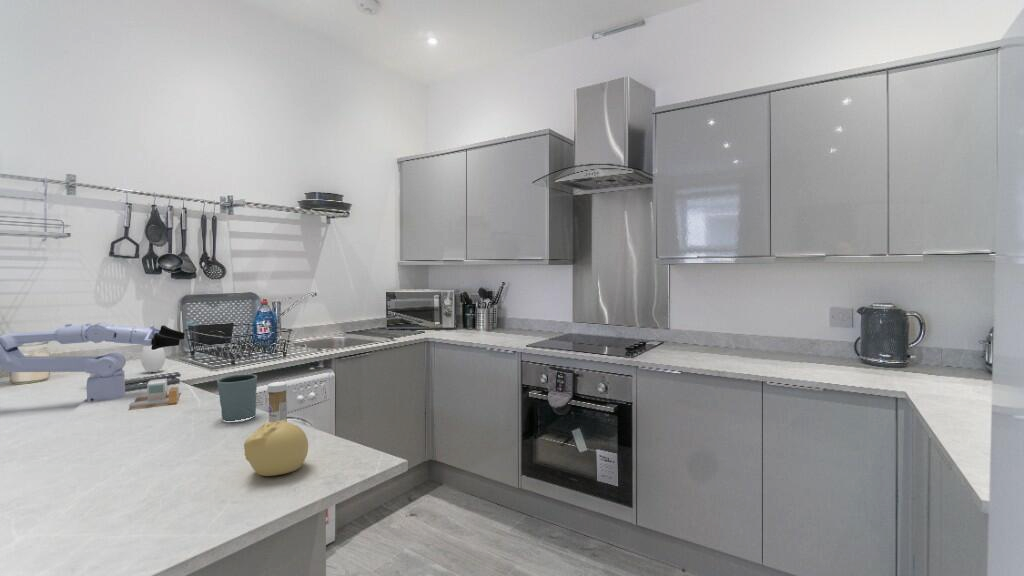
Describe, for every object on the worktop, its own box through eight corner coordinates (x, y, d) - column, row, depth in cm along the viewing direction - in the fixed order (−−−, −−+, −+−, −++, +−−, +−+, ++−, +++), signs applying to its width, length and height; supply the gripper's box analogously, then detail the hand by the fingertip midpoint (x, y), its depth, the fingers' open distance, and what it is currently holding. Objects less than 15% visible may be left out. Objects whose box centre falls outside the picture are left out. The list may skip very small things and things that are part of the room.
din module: (147, 401, 151) (147, 384, 151) (150, 396, 157) (150, 380, 157) (165, 399, 154) (164, 382, 153) (167, 394, 160) (167, 378, 160)
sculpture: (265, 459, 109) (264, 413, 109) (317, 460, 109) (316, 413, 108) (235, 482, 98) (233, 430, 97) (292, 482, 97) (291, 431, 97)
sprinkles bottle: (264, 434, 125) (263, 384, 125) (279, 429, 130) (277, 380, 129) (277, 437, 124) (276, 386, 123) (291, 431, 128) (290, 382, 127)
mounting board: (128, 415, 142) (127, 410, 142) (137, 402, 156) (136, 397, 156) (176, 409, 148) (176, 404, 148) (181, 397, 162) (181, 392, 162)
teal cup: (265, 415, 142) (264, 375, 141) (233, 425, 133) (232, 383, 132) (243, 411, 146) (242, 372, 145) (210, 421, 137) (209, 379, 136)
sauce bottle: (155, 374, 196) (154, 331, 196) (137, 374, 197) (135, 331, 196) (169, 370, 204) (168, 329, 203) (151, 370, 204) (150, 329, 204)
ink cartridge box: (113, 382, 183) (111, 345, 182) (123, 383, 182) (122, 345, 181) (89, 388, 174) (87, 348, 174) (100, 389, 173) (98, 349, 173)
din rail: (128, 409, 143) (128, 396, 143) (132, 404, 148) (131, 391, 148) (176, 403, 149) (176, 390, 149) (178, 399, 154) (178, 386, 154)
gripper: (128, 329, 152) (178, 333, 158) (141, 318, 165) (187, 322, 171) (125, 350, 153) (176, 353, 159) (139, 338, 166) (185, 341, 172)
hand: (181, 339), depth 165 cm, fingers open, 7 cm apart
